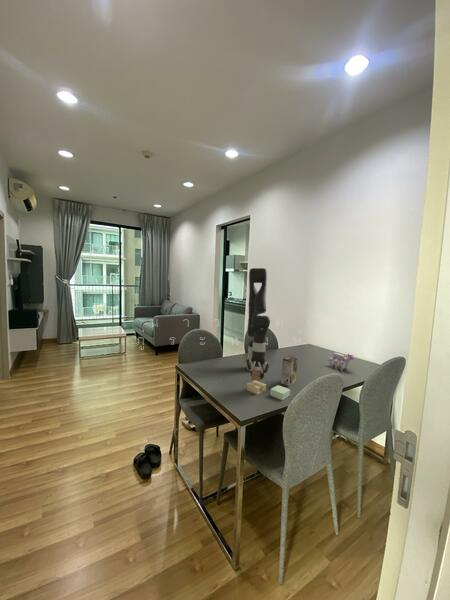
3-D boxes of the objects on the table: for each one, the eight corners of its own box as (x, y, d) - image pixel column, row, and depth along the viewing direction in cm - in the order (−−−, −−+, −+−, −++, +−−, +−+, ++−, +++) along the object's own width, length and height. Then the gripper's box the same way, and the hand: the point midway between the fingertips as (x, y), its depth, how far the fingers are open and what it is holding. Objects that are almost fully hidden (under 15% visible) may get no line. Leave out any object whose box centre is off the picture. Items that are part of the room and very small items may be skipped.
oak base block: (255, 386, 160) (255, 380, 160) (265, 391, 154) (266, 384, 154) (246, 390, 154) (247, 383, 154) (257, 395, 149) (257, 388, 148)
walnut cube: (254, 376, 157) (254, 368, 156) (262, 378, 155) (262, 370, 154) (251, 379, 152) (251, 371, 152) (259, 381, 150) (260, 372, 150)
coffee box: (286, 379, 173) (288, 355, 172) (296, 382, 169) (298, 358, 168) (280, 383, 166) (282, 358, 165) (289, 386, 162) (291, 361, 161)
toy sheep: (359, 372, 194) (360, 354, 192) (351, 375, 188) (352, 357, 186) (334, 363, 210) (335, 347, 208) (326, 366, 204) (327, 349, 202)
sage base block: (277, 391, 155) (278, 385, 154) (289, 396, 149) (290, 389, 149) (270, 395, 149) (270, 388, 148) (282, 400, 144) (283, 393, 143)
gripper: (272, 350, 152) (270, 378, 154) (249, 346, 158) (247, 373, 160) (268, 353, 145) (266, 382, 147) (245, 348, 152) (243, 377, 153)
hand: (256, 377), depth 153 cm, fingers closed on walnut cube, 5 cm apart
